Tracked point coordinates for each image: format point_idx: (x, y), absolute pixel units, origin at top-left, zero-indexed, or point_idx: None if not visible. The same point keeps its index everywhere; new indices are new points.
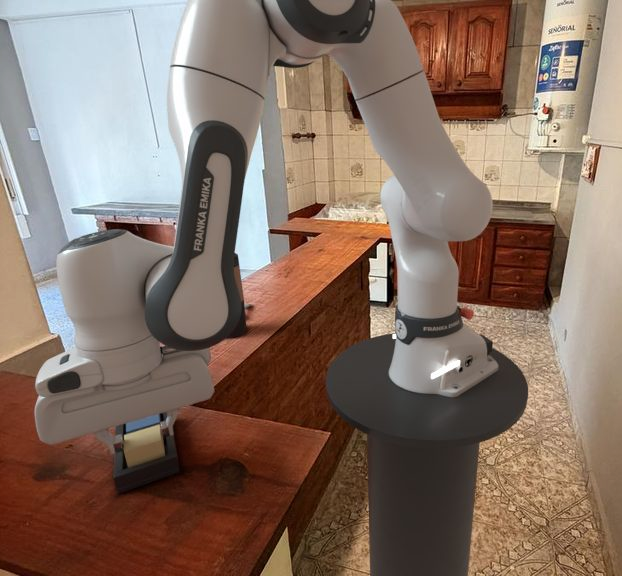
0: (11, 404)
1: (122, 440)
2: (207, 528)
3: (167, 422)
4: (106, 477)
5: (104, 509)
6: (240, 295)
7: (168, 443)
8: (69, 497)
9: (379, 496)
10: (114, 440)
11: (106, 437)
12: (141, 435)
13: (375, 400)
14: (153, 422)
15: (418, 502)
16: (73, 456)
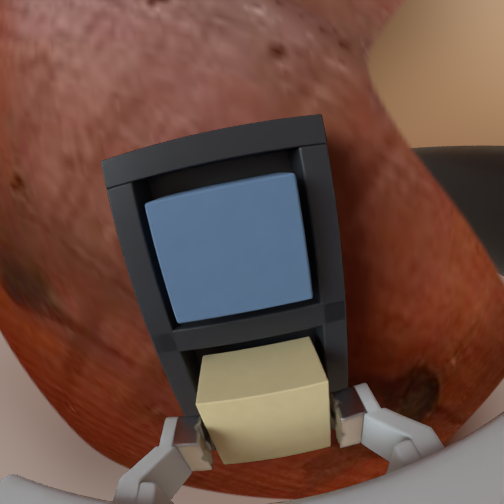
0: None
1: (198, 424)
2: (355, 473)
3: (368, 435)
4: (156, 359)
5: None
6: None
7: (331, 381)
8: (104, 384)
9: (477, 229)
10: (186, 461)
11: (171, 493)
12: (264, 421)
13: None
14: (285, 294)
15: (499, 272)
16: (39, 237)
